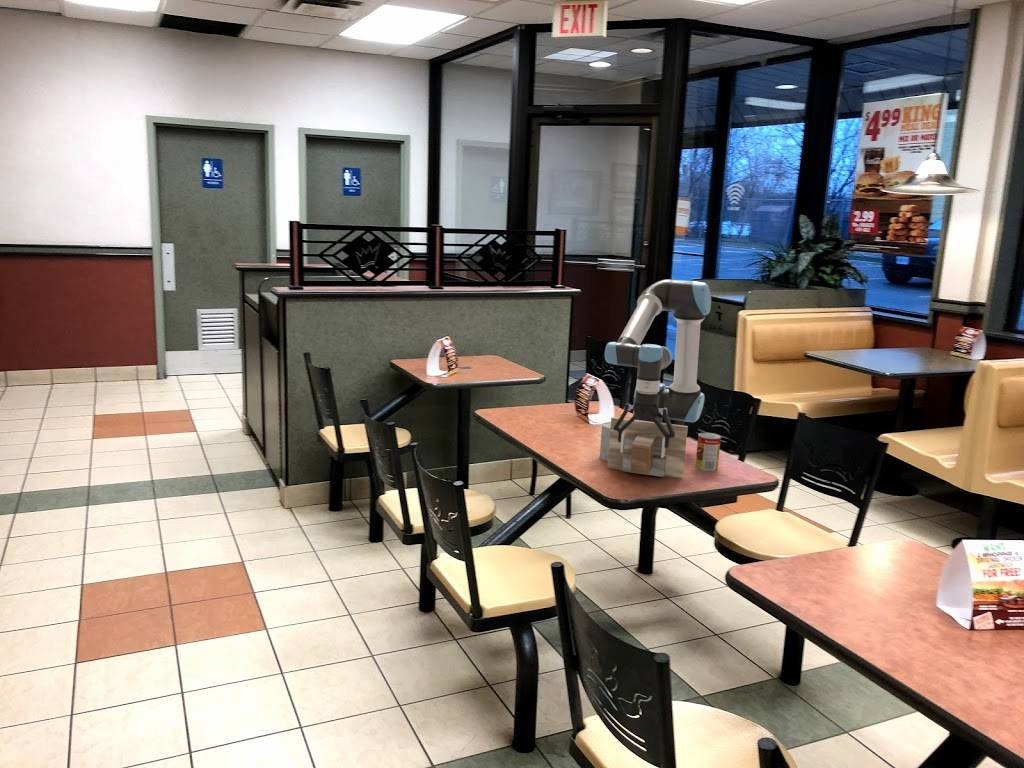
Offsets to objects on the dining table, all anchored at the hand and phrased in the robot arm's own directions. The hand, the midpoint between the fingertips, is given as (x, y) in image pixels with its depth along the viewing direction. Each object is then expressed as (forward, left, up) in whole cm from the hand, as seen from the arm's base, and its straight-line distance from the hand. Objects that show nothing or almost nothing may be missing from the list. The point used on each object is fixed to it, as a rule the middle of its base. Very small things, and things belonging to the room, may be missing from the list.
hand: (642, 454), depth 276 cm
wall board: (-7, -3, -9) cm, 12 cm away
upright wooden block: (-2, -1, -5) cm, 6 cm away
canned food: (-31, +10, -9) cm, 34 cm away
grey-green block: (-16, -20, -9) cm, 27 cm away
